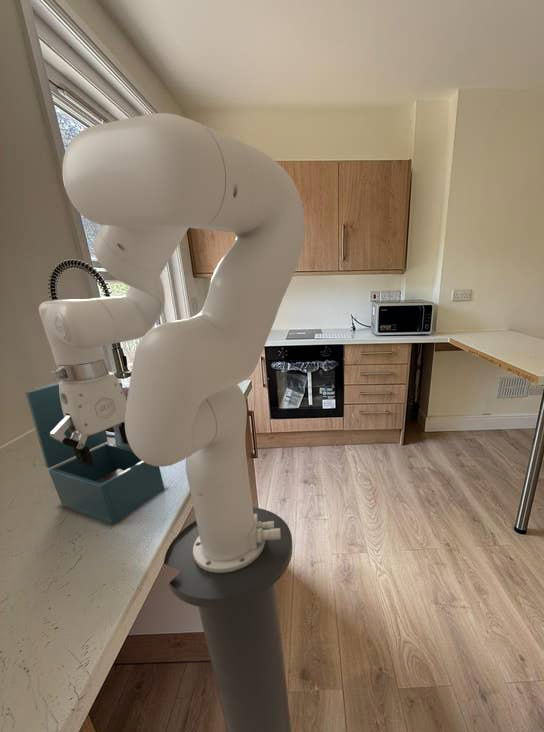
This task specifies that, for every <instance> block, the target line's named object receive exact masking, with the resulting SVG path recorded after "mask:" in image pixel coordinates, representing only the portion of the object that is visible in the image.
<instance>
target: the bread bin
mask: <svg viewBox="0 0 544 732" xmlns="http://www.w3.org/2000/svg"><path fill="white" fill-rule="evenodd" d="M90 453H91V456H92V459H93V463H94V464H93V465H92V466H87V465H83V464H81V463H79V462H78V461H77V458H76V456H75V457H72V458H70V459H68V460H66V461H64V462H61V463H59V464H57V465H55V466H53V467H50V468H48V472H49V475H50V477H51V480H52V483H53V485H54V488H55V491H56V493H57V496H58V499H59V501H60V504H61V506H62V507H65V508H67V509H70V510H72V511H74V512H77V513H81V514H83V515H86V516H88V517H91V518H93V519H96V520H99V521H102V522H103V523H107V524H110V525H111V526H113V525H115V524H116V523H118V522H120V521H121V520H123V519H124V518H126V517H127V516H128V515H130V514H131V513H133V512H134V511H135V510H137V509H138V508H141V506H143V505H144V504H146V503H147V502H149V501H150V500H151V499H153V498H155V497H156V496H157V495H159V494H160V493H162V492H163V491H165V485H164V481H163V477H162V473H161V468H160V467H158V466H152V465H149V464H147V463H145V462H143V461H142V460H140V459H139V458H138V457H137V456H136V455H135V454H134V452H133V451H132V449H130V448H126V447H122V446H118V445H115V444H114V443H111V442H105V443H103V444H101V445H99V446H96V447H94V448H92V449H90ZM117 469H121V470H125V471H123V472H121V473H119V474H117V475H116V476H114V477H112V478H110V479H108V480H107V481H105V482H103V483H99V482H97V480H99V479H101V478H102V477H104V476H106V475H108V474H110V473H112V472H113V471H115V470H117Z"/></svg>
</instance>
